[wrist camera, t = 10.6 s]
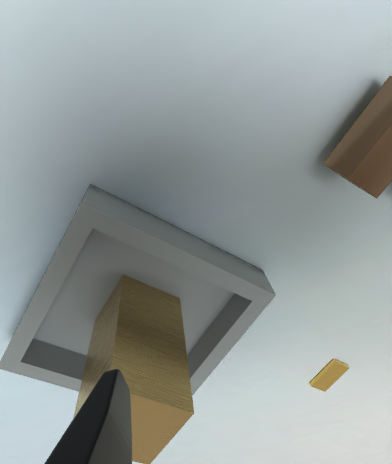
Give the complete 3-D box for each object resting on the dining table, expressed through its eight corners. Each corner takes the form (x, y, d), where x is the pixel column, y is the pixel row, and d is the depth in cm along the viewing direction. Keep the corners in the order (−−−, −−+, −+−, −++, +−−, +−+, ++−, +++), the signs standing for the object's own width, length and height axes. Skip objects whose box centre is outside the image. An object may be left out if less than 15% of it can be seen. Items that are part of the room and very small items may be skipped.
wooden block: (180, 298, 22) (194, 413, 15) (149, 340, 23) (149, 464, 16) (123, 274, 21) (108, 387, 14) (94, 320, 22) (67, 445, 15)
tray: (263, 270, 22) (275, 294, 20) (171, 387, 26) (173, 418, 24) (90, 184, 19) (81, 202, 16) (12, 336, 22) (-4, 368, 20)
